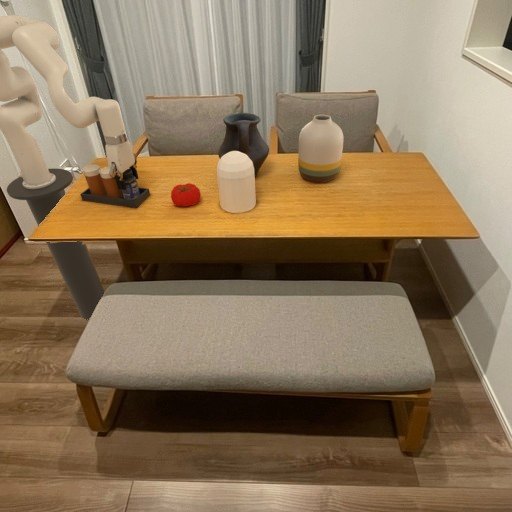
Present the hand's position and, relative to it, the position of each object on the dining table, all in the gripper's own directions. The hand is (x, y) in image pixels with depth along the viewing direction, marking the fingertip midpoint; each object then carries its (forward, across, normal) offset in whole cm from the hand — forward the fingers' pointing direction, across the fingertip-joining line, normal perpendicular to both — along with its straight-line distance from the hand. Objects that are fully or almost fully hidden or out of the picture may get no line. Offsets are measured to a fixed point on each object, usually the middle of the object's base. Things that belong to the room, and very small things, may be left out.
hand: (128, 183), depth 144 cm
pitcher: (+7, -30, +36) cm, 47 cm away
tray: (+7, 0, -8) cm, 10 cm away
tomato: (+7, -3, +22) cm, 23 cm away
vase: (+7, -35, +66) cm, 75 cm away
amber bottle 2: (+6, 0, -8) cm, 10 cm away
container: (+7, -7, +40) cm, 42 cm away
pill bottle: (+6, 0, 0) cm, 6 cm away
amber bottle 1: (+6, 0, -15) cm, 16 cm away
